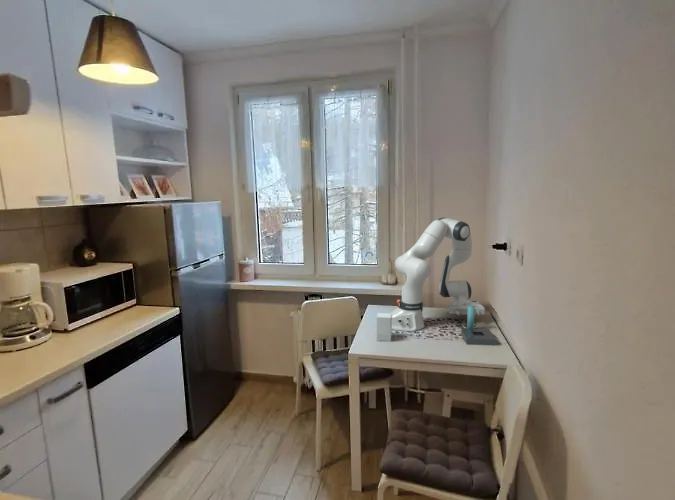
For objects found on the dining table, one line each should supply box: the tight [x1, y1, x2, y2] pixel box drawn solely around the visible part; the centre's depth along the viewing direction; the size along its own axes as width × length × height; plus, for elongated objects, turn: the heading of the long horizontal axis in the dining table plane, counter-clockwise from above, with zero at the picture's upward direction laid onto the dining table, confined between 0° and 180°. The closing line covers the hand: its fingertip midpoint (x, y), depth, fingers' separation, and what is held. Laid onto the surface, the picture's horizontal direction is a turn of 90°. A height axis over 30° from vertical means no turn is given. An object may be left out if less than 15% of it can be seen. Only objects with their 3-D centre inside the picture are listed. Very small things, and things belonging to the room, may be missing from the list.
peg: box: [466, 306, 476, 329], centre depth 202 cm, size 4×4×13 cm
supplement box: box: [376, 312, 393, 343], centre depth 193 cm, size 7×7×13 cm
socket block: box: [460, 327, 498, 346], centre depth 190 cm, size 14×14×3 cm
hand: (468, 314), depth 207 cm, fingers open, 8 cm apart
